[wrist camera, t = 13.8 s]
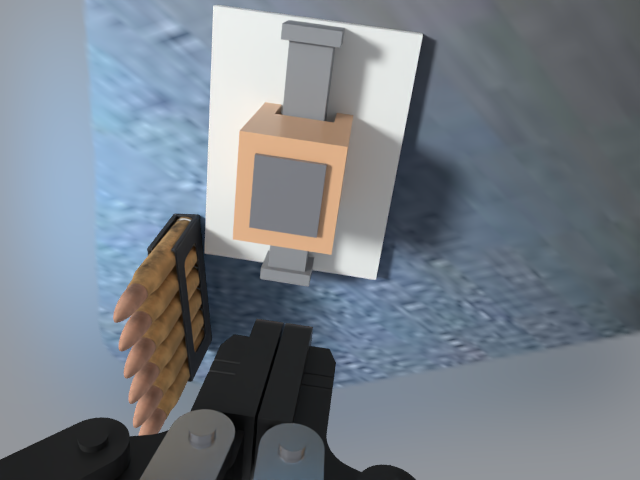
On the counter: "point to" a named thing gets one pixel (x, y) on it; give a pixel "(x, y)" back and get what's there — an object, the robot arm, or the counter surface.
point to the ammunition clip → (165, 321)
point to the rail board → (352, 94)
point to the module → (290, 179)
